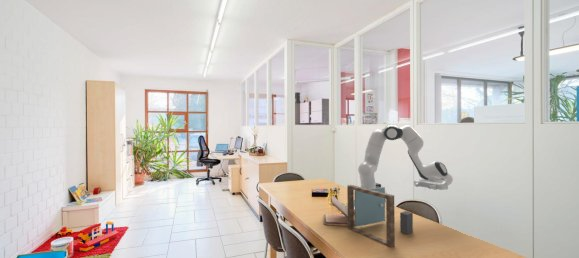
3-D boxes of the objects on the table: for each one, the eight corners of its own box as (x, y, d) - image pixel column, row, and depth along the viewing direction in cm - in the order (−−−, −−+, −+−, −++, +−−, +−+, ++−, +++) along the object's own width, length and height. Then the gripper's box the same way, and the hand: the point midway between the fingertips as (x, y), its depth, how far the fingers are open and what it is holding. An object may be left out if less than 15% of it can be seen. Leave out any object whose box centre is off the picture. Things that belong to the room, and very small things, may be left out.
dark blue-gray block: (400, 231, 164) (400, 212, 164) (406, 229, 167) (405, 210, 167) (407, 234, 160) (406, 214, 160) (412, 232, 164) (412, 212, 163)
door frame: (347, 228, 171) (347, 185, 171) (351, 227, 173) (350, 184, 172) (391, 247, 144) (390, 196, 143) (394, 245, 145) (394, 195, 145)
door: (357, 227, 168) (357, 191, 167) (354, 226, 171) (354, 190, 170) (387, 221, 177) (386, 187, 177) (383, 220, 180) (383, 186, 180)
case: (355, 227, 174) (355, 202, 173) (323, 225, 177) (323, 201, 177) (352, 216, 194) (352, 194, 194) (323, 215, 197) (323, 194, 197)
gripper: (420, 176, 189) (408, 179, 182) (449, 179, 171) (437, 183, 165) (421, 185, 189) (409, 188, 182) (450, 189, 171) (438, 193, 164)
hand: (422, 186), depth 173 cm, fingers open, 8 cm apart
